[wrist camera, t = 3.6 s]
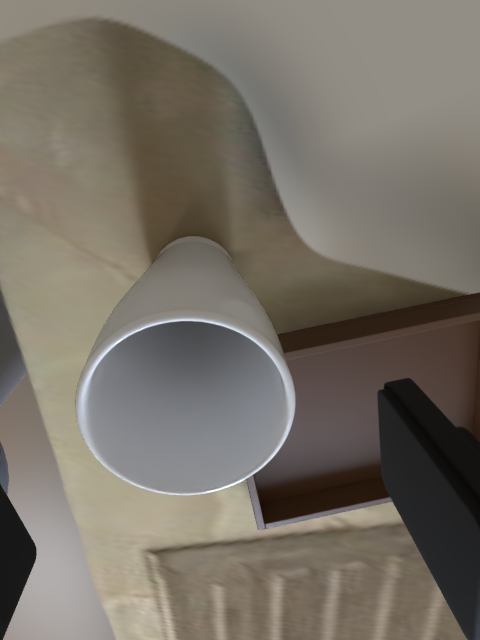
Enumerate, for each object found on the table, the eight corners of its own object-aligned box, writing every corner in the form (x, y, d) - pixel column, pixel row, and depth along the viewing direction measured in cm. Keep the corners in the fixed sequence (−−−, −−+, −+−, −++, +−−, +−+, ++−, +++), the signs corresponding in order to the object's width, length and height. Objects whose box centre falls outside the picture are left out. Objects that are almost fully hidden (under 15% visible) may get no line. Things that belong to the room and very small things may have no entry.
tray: (253, 502, 34) (258, 530, 31) (217, 346, 28) (219, 366, 25) (471, 455, 34) (493, 479, 31) (482, 291, 28) (510, 305, 26)
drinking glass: (145, 214, 24) (71, 293, 10) (255, 231, 25) (323, 324, 11) (137, 317, 26) (69, 494, 13) (237, 328, 27) (275, 504, 14)
